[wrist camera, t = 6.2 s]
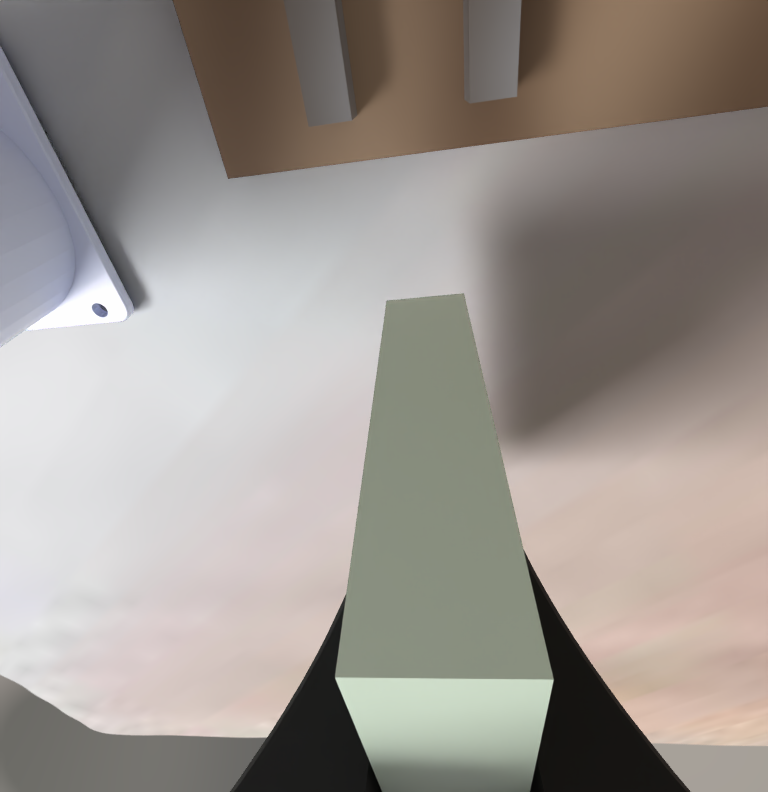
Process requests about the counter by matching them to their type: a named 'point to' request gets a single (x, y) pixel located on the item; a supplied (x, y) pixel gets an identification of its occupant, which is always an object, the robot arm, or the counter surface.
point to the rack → (459, 72)
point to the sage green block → (440, 575)
